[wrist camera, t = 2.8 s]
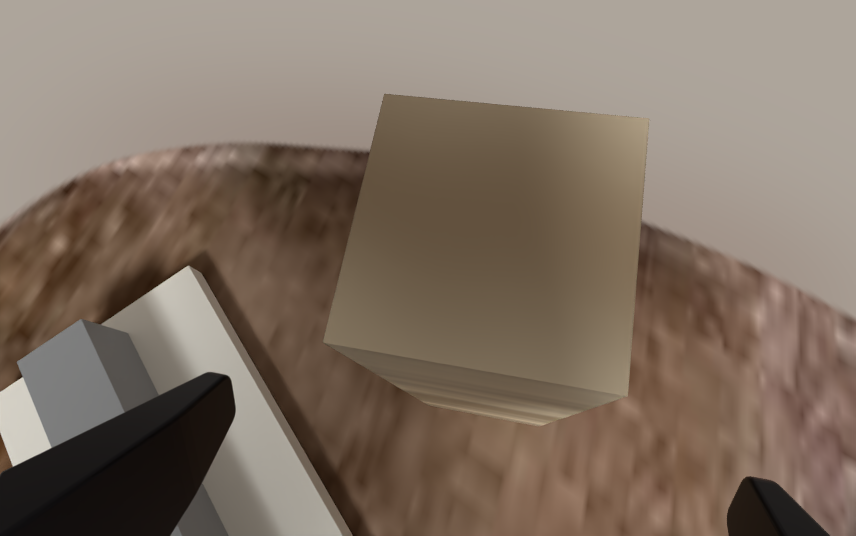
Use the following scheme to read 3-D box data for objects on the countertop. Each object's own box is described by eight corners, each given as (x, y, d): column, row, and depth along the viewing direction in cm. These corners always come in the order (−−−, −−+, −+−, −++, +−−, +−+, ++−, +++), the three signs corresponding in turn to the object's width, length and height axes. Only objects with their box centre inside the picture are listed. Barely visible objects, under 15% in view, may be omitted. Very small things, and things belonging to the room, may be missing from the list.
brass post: (538, 426, 19) (627, 396, 7) (428, 405, 20) (322, 342, 7) (552, 317, 20) (648, 118, 8) (448, 301, 21) (384, 93, 8)
